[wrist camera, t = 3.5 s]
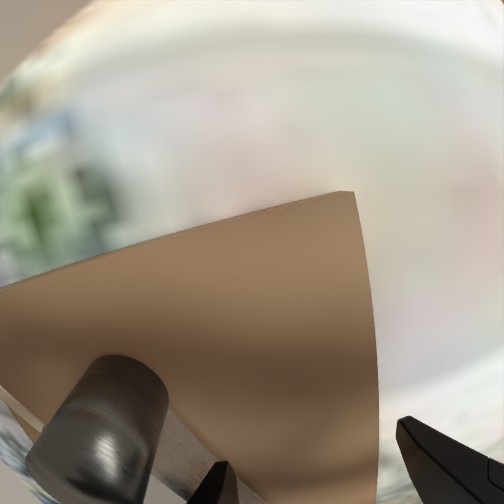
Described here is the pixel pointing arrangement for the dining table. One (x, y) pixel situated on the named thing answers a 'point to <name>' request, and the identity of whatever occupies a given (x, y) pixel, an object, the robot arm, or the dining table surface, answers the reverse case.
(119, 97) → the dining table surface
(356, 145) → the dining table surface
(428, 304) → the dining table surface
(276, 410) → the base
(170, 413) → the lever
